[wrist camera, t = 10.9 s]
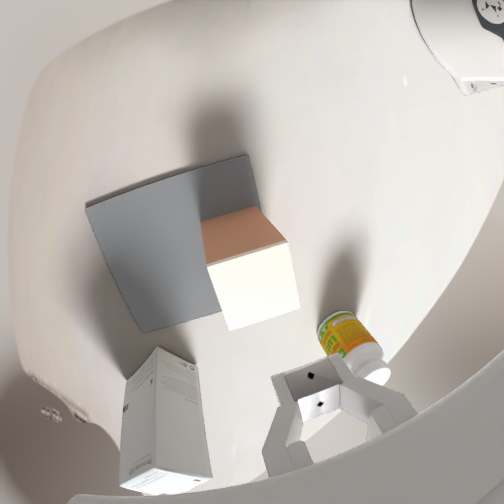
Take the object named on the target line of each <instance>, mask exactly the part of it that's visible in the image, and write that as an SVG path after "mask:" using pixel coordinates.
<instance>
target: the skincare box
mask: <svg viewBox="0 0 504 504" xmlns="http://www.w3.org/2000/svg"><path fill="white" fill-rule="evenodd" d="M119 472H120V473H119V474H120V475H119V486H120V487H124V488H127V489H131V490H135V491H139V492H144V493H148V494H153V495H159V496H160V495H174V494H177V493H180V492H185V491H188V490H191V489H192V488H193V487H195V486H197V485H199V484H202V483H204V482H206V481H208V480H210V479H212V478H213V476H212V472H211V466H210V460H209V453H208V447H207V440H206V433H205V425H204V418H203V410H202V401H201V393H200V383H199V373H198V367H197V366H196V365H194V364H192V363H189V362H187V361H185V360H183V359H181V358H179V357H177V356H176V355H174V354H172V353H170V352H168V351H166V350H164V349H163V348H161V347H159V346H158V347H156V348H155V349H154V351H153V352H152V354H151V355H150V356H149V357H148V359H147V360H146V361H145V362H144V363H143V365H142V366H141V367H140V368H139V369H138V370H137V371H136V372H135V373H134V374H133V375H132V376H131V377H130V378H129V379H128V380H127V382H126V388H125V396H124V406H123V417H122V429H121V445H120V470H119Z"/></svg>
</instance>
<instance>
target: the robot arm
mask: <svg viewBox="0 0 504 504" xmlns="http://www.w3.org/2000/svg"><path fill="white" fill-rule="evenodd" d="M412 7H413V12H414V16H415V20H416V23H417V25H418V28H419V30H420V32H421V35H422V37H423V39H424V40H425V42H426V44H427V46H428V47H429V49H430V51H431V52H432V54H433V55H434V56H435V58H436V59H437V60H438V61H439V63H440V64H441V65H442V66H443V67H444V68H445V69H446V70H447V71H448V72H449V73H450V74H451V75H452V76H453V78H454V80H455V82H456V83H457V85H458V87H459V89H460V90H461V92H462V93H463V94H464V95H466V96H467V95H473V94H477V93H480V92H483V91H487V90H490V89H493V88H497V87H500V86H504V0H412ZM271 380H272V383H273V386H274V389H275V393H276V396H277V399H278V402H279V405H280V407H278V408H277V411H276V414H275V417H274V419H273V422H272V425H271V428H270V430H269V433H268V436H267V438H266V441H265V444H264V446H263V449H262V455H263V458H264V462H265V465H266V469H267V472H268V476H269V478H266V479H262V480H258V481H254V482H250V483H245V484H241V485H236V486H231V487H226V488H220V489H214V490H208V491H201V492H193V493H184V494H174V495H160V496H100V495H89V494H78V495H76V496H74V497H73V498H72V499H71V500H70V501H69V502H68V503H67V504H504V350H503V351H502V352H501V353H499V354H498V355H497V356H496V357H495V358H494V359H493V360H492V361H491V362H489V363H488V364H487V365H486V366H485V367H483V368H482V369H481V370H480V371H479V372H477V373H476V374H475V375H474V376H472V377H471V378H470V379H468V380H467V381H466V382H465V383H463V384H462V385H460V386H459V387H458V388H456V389H455V390H454V391H453V392H451V393H449V394H448V395H447V396H445V397H444V398H442V399H441V400H439V401H438V402H437V403H435V404H433V405H432V406H430V407H429V408H427V409H425V410H424V411H422V412H421V413H419V414H418V413H417V412H416V410H415V409H414V408H413V406H412V405H411V404H410V402H409V401H408V400H407V398H406V397H405V395H404V394H402V393H400V392H397V391H394V390H392V389H389V388H386V387H384V386H381V385H379V384H376V383H374V382H371V381H369V380H366V379H364V378H361V377H359V376H358V377H356V378H355V377H354V375H353V374H352V372H351V370H350V369H349V367H348V366H347V364H346V363H345V361H344V360H343V358H342V357H341V355H340V354H339V353H338V352H337V353H334V354H332V355H329V356H327V357H324V358H321V359H319V360H316V361H314V362H311V363H308V364H306V365H304V366H301V367H298V368H295V369H292V370H289V371H286V372H283V373H279V374H276V375H273V376H271ZM339 408H340V409H342V410H343V411H345V412H347V413H349V414H350V415H352V416H354V417H355V418H357V419H359V420H361V421H363V422H364V423H366V424H368V425H369V427H368V432H367V437H366V440H367V442H365V443H363V444H361V445H359V446H356V447H354V448H352V449H350V450H347V451H345V452H343V453H340V454H338V455H335V456H333V457H330V458H328V459H326V460H323V461H320V462H317V463H313V461H312V459H311V456H310V454H309V452H308V449H307V447H306V445H305V442H303V441H300V440H299V439H300V435H301V431H302V427H303V422H305V421H308V420H310V419H313V418H315V417H318V416H320V415H323V414H325V413H328V412H331V411H333V410H336V409H339Z"/></svg>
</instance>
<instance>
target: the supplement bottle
mask: <svg viewBox="0 0 504 504" xmlns="http://www.w3.org/2000/svg"><path fill="white" fill-rule="evenodd" d="M317 337H318V340H319V342H320V344H321V346H322V347H323V349H324V351H325V352H326V354H327V356H329V355H332V354H334V353H337V352H338V353H339V354H340V355H341V357H342V358H343V360H344V361H345V363H346V364H347V366H348V367H349V369H350V370H351V372H352V374H353V375H354V377H355V378H356V377H358V376H359V377H361V378H364V379H366V380H369V381H371V382H374V383H376V384H379V385H381V386H383V385H384V384H385V382H387V380H388V379H389V376H390V373H391V371H390V369H389V367H388V366H387V364H386V363H385V362H384V361H383V357H384V354H383V350H382V348H381V347H380V345H379V344H378V343H377V342H376V340H375V339H374V338H373V337H372V336H371V334H370V333H369V332H368V331H367V330H366V328H365V327H364V326H363V325H362V324H361V322H360V321H359V320H358V319H357V318H356V316H355V315H354V314H353V313H351V312H349V311H338V312H335V313H333V314H331V315H330V316H328V317H327V318H326V319H325V320H324V321H323V322H322V323H321V325H320V326H319V329H318V332H317Z"/></svg>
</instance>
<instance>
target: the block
mask: <svg viewBox="0 0 504 504" xmlns="http://www.w3.org/2000/svg"><path fill="white" fill-rule="evenodd" d="M200 223H201V230H202V238H203V245H204V252H205V259H206V265H207V269H208V272H209V275H210V278H211V281H212V284H213V286H214V289H215V292H216V295H217V298H218V301H219V303H220V306H221V309H222V312H223V314H224V317H225V320H226V322H227V325H228V328H229V330H230V331H231V330H234V329H238V328H241V327H244V326H247V325H251V324H254V323H257V322H260V321H263V320H266V319H269V318H272V317H275V316H278V315H281V314H284V313H287V312H290V311H293V310H296V309H299V308H300V304H299V298H298V292H297V287H296V281H295V276H294V270H293V265H292V260H291V255H290V250H289V244H288V242H287V240H286V239H285V238H284V237H283V236H282V235H281V234H280V233H279V231H278V230H277V229H276V228H275V227H274V226H273V225H272V224H271V222H270V221H269V220H268V219H267V218H266V217H265V216H264V215H263V213H262V212H261V211H260V210H259V209H258V208H257V207H256V206H253V207H249V208H246V209H242V210H239V211H235V212H232V213H229V214H225V215H222V216H219V217H215V218H212V219H209V220H205V221H202V222H200Z"/></svg>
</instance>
